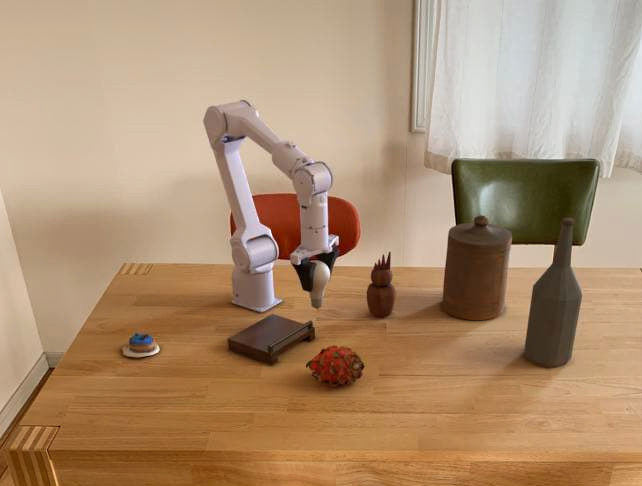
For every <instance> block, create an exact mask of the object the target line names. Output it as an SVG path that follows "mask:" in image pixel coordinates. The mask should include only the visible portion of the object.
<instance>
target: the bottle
mask: <svg viewBox="0 0 642 486" xmlns="http://www.w3.org/2000/svg"><path fill="white" fill-rule="evenodd" d="M575 223H576V221H575V219H574V218H571V217H564V218H563V219H562V220H561V229H560V232H559V236H558V239H557V244H556V248H555V251H554V255H553V260H552V263H551V264H550V265H549V267H548V268H546V270H545V271H544V273H543V274H541V276H539V278H538V279H537V281H535V283H534V284H533V285H532V290H531V299H530V306H529V313H528V319H527V328H526V334H525V342H524V356H525V358H526V359H527V360H528V361H529V362H531V363H532V364H534V365H535V366H540V367H543V368H558V367H561V366H564V365H566V364H568V362H569V361H570V360H571V359H572V355H573V350H574V343H575V340H576V339H575V338H576V333H577V327H578V322H579V316H580V310H581V304H582V299H583V292H582V288H581V285H580V283H579V282H578V281H579V280H578V279H577V277H576V274H575V272H574V270H573V268H572V251H573V235H574V234H573V233H574V232H573V231H574V225H575Z"/></svg>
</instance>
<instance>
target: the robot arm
mask: <svg viewBox="0 0 642 486" xmlns="http://www.w3.org/2000/svg"><path fill="white" fill-rule="evenodd" d="M202 123H203V126H204V129H205V133H206V135H207V138H208V143H209V146H210V149H211V150H212V153H213V155H214V158H215V163H216V166H217V169H218V172H219V175H220V179H221V182H222V185H223V188H224V191H225V195H226V198H227V202H228V205H229V207H230V211H231V215H232V217H233V221H234V224H235V231H234V232H233V234H232V236H231V237H230V239H229V243H230V244H229V245H230V247H231V259H232V261H233V264H234V265H235V266H234V267H233V269H232V273H231V286H232V287H231V288H232V295H233V300H231V304H234V305H236V306H239V307H243V308H245V309H248V310H252V311H255V312H258V313H264V312H266V311H267V310H269V309H271V308H273V307H275V306H277V305H279V304H281V303H282V302H283V299H281V298H279V297H276V296H275V289H274V287H275V286H274V275H273V267H275V261H277V260H278V258H279V255H280V254H279V253H280V252H279V251H280V250H279V246H278V242H276V239H274V237H273V235H272V231H271V229H270V228H269V227H268V226H265V225H264V224H262V223H261V222H260V219H259V216H258V212H257V210H256V206H255V203H254V199H253V196H252V192H251V189H250V185H249V181H248V178H247V176H246V172H245V169H244V165H243V161H242V159H241V155H240V148H241V146H242V144H243V143H244V142H245V141H246V140H247V138H248V139H250V140H251V141H252V142H254V143H255V144H256V145H258V146H259V147H260V148H262V149H263V150H264V151H266V152H267V153H268V154H270V155H271V162H272V164H273V165H274V166H275V167H276V168H277V169H278V170H279V171H280V172H282V173H283V174H284V175H285V176H286V177H287V178H288V179H290V180H291V182H292V186H293V189H294V191H295V193H296V200H297V202H298V205H299V217H300V245H298V247H297V248H296V249H295V250H294V251H293V252H291V253H290V254H289V258H290V260H289V261H290V264H291V267H293V269H294V270H295V272H296V275H297V276H298V279H299V282H300V285H301V288H302V291H304V292H308V293H309V292H311V291H312V289H313V275H314V270H315V267H316V265H317V264H316V263H313V262H310V261H311V259H310V258H311V257H313V256H316V260H318V261H321V262H323V263H325V264H326V265H327V267H328V268H329V271H330V279H329V282H331V277H332V273H333V269H334V266H335V263H336V261H337V259H338V257H339V255H340V249H339V248H337V247H338V245H339V243H340V241H339V236H338V235H334V234H332V233H331V234H329V212H328V211H329V210H328V209H329V208H328V207H329V205H328V191H330V190H331V189H332V187H333V184H334V175H333V172H332V170H331V168H330V167H329V166H328V165H327V163H326V162H325V161H321V160H320V161H319V160H318V161H317V160H316V159H312V158H311V157H310V156H308V155H307V154H306V153H305V152H304V151H302V150H301V149H300V148H299V147H298V146H297V144H296V142H294V141H293V140H291V141H290V140H283V141H282V139H281V138H280V137H279V136H277V134H276V133H275V132H274V131H273V130H272V129H271V128H270V127H269V126H268V125H267V124H266V123H265V122H264V120H262V119H261V118H260V115H259V111H258V108H257V107H256V106H254V105H253V104H252V103H251V102H250V100H249V101H248V100H247V99H240V100H239V101H234V102H229V103H223V104H219V105H210V106H208V107H207V108H206V111H205V113H204V116H203V119H202ZM336 246H337V247H336Z"/></svg>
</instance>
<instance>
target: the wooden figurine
mask: <svg viewBox="0 0 642 486" xmlns="http://www.w3.org/2000/svg"><path fill="white" fill-rule="evenodd" d="M385 257H386V256H385V254H384V253H382V257H381V259H380V258H378V260H377V262H374V266H373V269H372V270H371V272H370V280H371V283H370V284H369V285H368V286H367V289H366V304H367V308H368V310H369V312H370V314H371V315H373V316H374V317H378V318H379V317H380V318H385V317H389V316H390V315H392V313H393V311H394V308H395V304H396V298H397V290H396V289H397V288H396V287H395V285H394V284H393V283H392V281H393V271H392V270H391V261H392V258H391V257H392V252H391V251H389V252H388V255H387V257H386V259H385Z"/></svg>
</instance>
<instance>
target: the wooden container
mask: <svg viewBox="0 0 642 486" xmlns="http://www.w3.org/2000/svg"><path fill="white" fill-rule="evenodd" d="M512 240H513V235H512V232H511V231H510V230H509V229H507V228H505V227H503V226H501V225H496V224H492V223H490V219H489V218H488V217H487V216H486V215H481V214H480V215H477V216H474V218H473V222H465V223H459V224H456V225H454V226H452V227H450V228H449V230H448V234H447V246H446V247H447V248H446V256H445V264H444V266H445V267H444V274H443V285H442V286H443V288H442V302H441V303H442V304H441V306H442V308H443V310H444V311H445V312H446V313H448V314H449V315H451V316H453V317H456V318H458V319H463V320H467V321H468V320H469V321H484V320H485V321H486V320H490V319H494V318H497V317H499V316H500V315H502V313H503V311H504V309H505V302H506V294H507V287H508V286H507V285H508V275H509V265H510V264H509V263H510V253H511V249H512Z"/></svg>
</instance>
